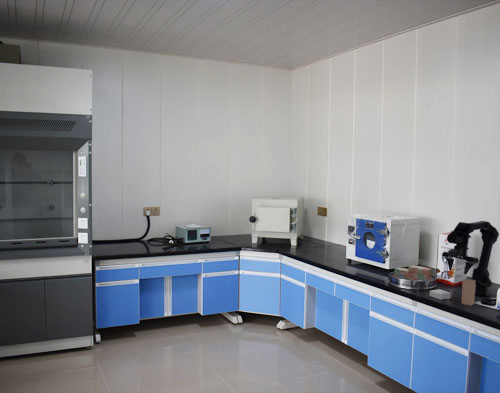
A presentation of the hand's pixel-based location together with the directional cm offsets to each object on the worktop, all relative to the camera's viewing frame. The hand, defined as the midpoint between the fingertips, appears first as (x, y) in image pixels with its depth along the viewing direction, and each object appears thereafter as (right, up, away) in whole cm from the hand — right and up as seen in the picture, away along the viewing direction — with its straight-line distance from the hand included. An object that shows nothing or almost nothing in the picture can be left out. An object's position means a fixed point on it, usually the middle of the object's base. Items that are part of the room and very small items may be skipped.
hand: (457, 272), depth 250 cm
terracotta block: (+4, -17, -3) cm, 17 cm away
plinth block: (-6, -15, +8) cm, 19 cm away
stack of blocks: (-14, -14, +33) cm, 38 cm away
